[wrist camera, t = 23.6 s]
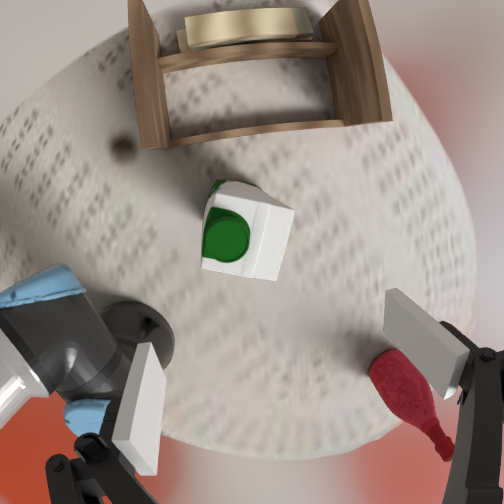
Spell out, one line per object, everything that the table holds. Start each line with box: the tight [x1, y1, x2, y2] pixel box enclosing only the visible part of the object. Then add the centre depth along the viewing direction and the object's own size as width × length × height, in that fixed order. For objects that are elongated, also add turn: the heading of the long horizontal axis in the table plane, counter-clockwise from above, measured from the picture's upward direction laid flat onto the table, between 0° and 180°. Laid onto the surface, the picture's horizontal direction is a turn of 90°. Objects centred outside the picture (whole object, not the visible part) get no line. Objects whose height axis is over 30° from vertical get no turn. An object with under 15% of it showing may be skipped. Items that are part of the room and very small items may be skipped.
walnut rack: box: [128, 0, 393, 150], centre depth 33 cm, size 28×19×14 cm, turn 98°
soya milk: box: [201, 180, 295, 281], centre depth 37 cm, size 9×9×20 cm
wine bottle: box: [369, 350, 455, 462], centre depth 47 cm, size 10×10×30 cm
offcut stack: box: [176, 8, 314, 53], centre depth 35 cm, size 20×6×6 cm, turn 101°
